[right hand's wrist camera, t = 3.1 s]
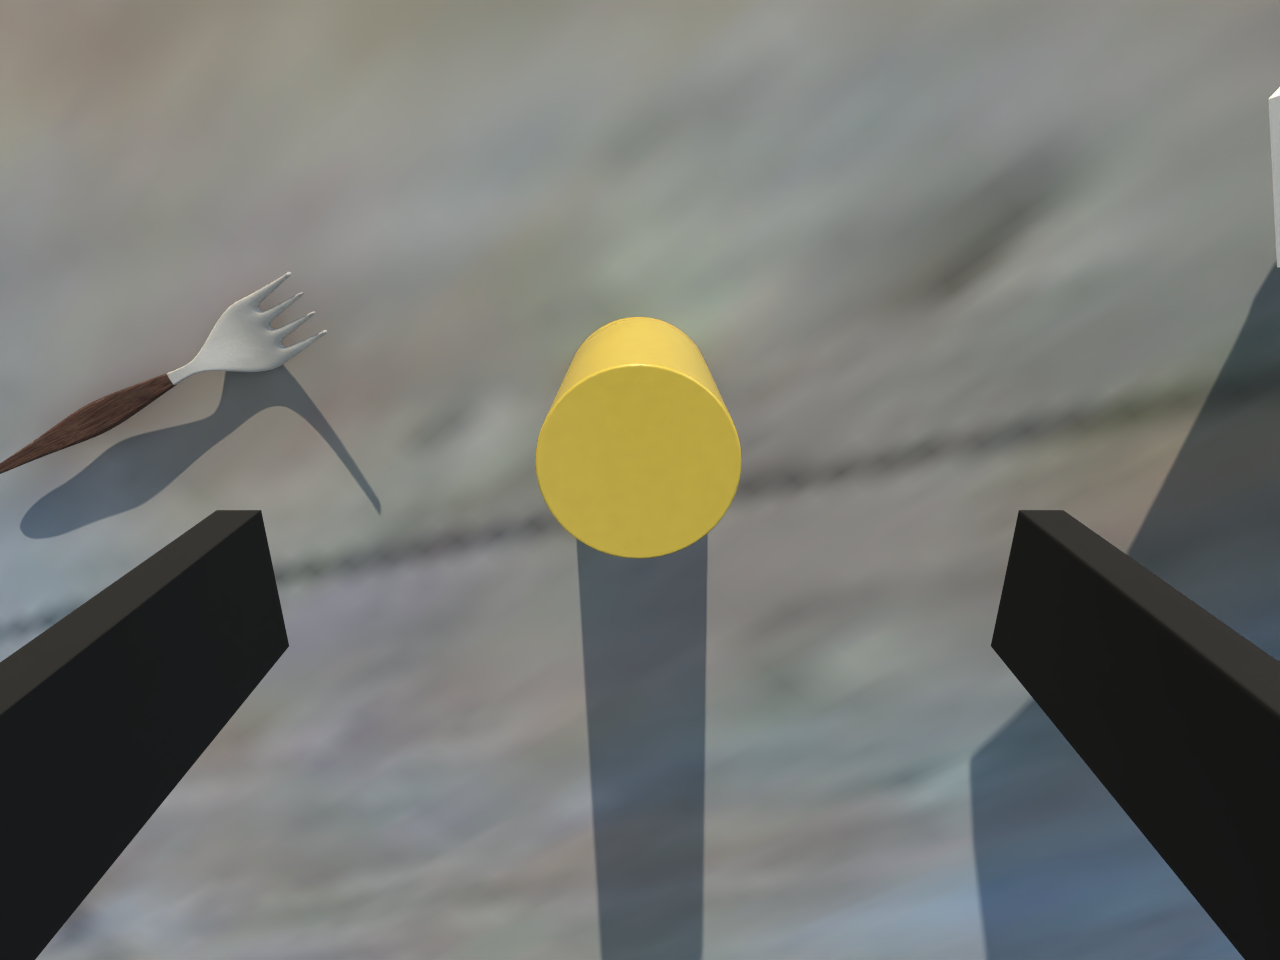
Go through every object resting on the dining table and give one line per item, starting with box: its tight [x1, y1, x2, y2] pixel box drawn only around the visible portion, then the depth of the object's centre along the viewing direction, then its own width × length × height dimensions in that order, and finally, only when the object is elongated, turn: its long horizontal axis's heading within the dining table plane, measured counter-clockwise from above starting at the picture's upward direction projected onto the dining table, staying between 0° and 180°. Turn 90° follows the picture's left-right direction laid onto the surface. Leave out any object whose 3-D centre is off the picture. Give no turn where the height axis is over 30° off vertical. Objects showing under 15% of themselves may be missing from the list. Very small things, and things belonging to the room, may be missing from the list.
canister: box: [535, 317, 741, 559], centre depth 23 cm, size 6×6×9 cm
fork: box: [0, 272, 327, 474], centre depth 26 cm, size 3×16×2 cm, turn 115°
